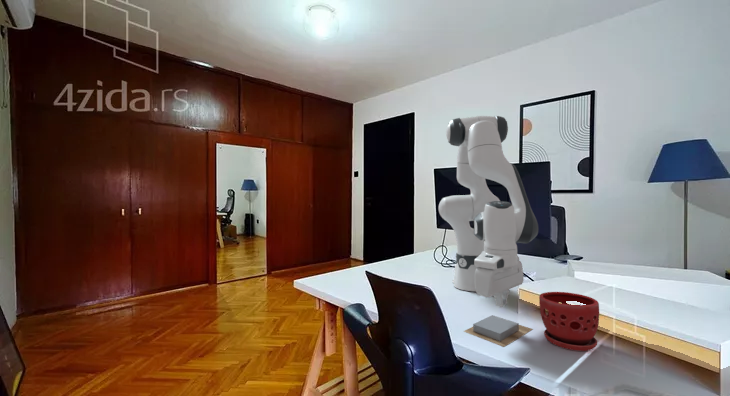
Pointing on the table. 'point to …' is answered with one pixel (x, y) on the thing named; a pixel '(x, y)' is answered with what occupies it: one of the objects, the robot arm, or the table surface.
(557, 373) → the table surface
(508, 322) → the tile
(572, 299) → the plant pot
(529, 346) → the table surface
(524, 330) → the cork mat
